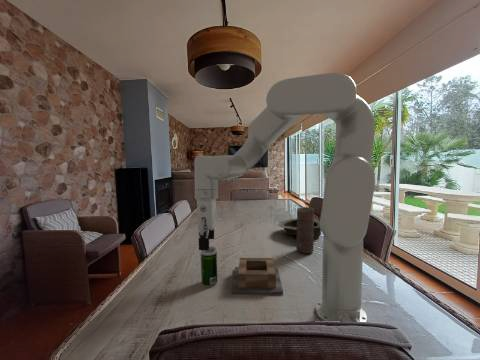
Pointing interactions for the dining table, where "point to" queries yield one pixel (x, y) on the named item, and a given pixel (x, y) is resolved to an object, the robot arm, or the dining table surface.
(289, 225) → the stone bowl
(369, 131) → the robot arm
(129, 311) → the dining table surface
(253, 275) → the well block
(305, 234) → the brown cylinder
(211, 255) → the beer can
